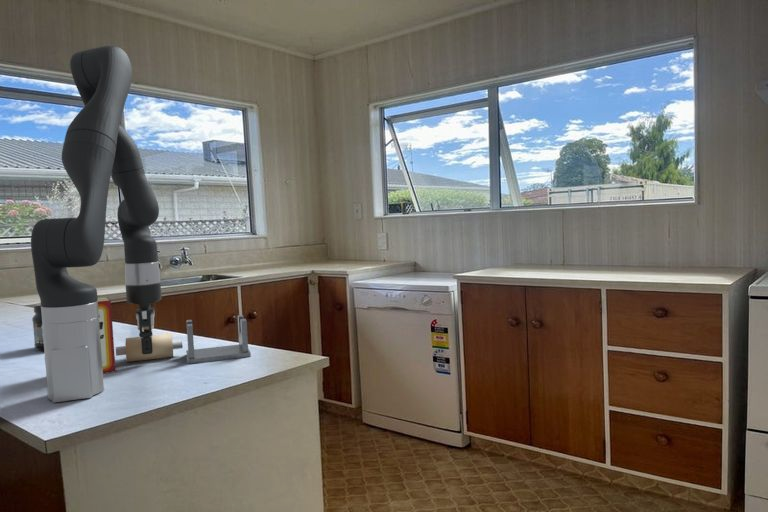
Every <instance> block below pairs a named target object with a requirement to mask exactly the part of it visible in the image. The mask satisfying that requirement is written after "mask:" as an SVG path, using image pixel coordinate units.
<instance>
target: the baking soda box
mask: <svg viewBox="0 0 768 512" xmlns="http://www.w3.org/2000/svg"><path fill="white" fill-rule="evenodd" d="M112 312H113V311H112V301H111V299H110V297H108V296H107V297H98V313H99V328H100V342H101V356H102V369H103V374H106V372H108V373H113V372H112V371H114V372H116V371H117V370H116V359H115V358H116V354H115V343H114V341H115V340H114V329H113V316H112V314H113V313H112Z"/></svg>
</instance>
